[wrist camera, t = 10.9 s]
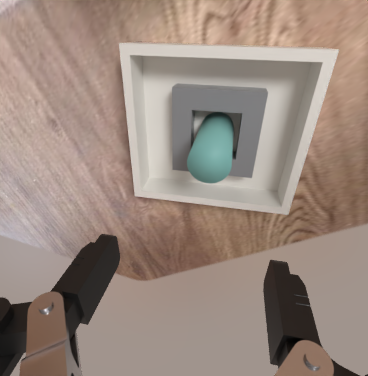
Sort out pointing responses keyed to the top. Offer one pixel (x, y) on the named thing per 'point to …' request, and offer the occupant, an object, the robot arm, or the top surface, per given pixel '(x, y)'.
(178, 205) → the top surface
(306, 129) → the bin
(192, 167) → the peg
